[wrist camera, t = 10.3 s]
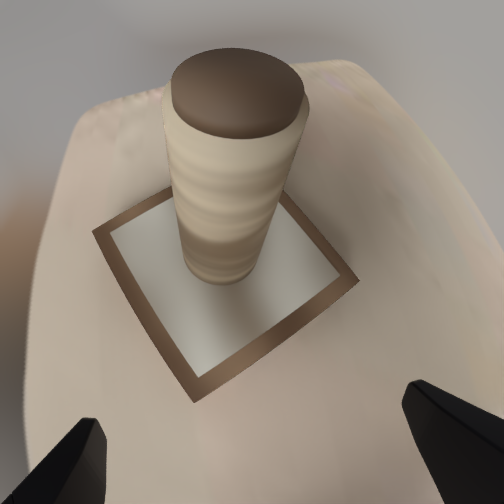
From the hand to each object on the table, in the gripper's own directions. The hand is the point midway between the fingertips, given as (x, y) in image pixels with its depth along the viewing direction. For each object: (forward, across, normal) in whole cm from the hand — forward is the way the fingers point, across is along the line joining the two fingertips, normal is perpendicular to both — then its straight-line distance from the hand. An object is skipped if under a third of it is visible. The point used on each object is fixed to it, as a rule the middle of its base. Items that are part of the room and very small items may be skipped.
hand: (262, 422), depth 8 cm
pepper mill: (+12, 0, -1) cm, 12 cm away
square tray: (+14, 0, +2) cm, 14 cm away
